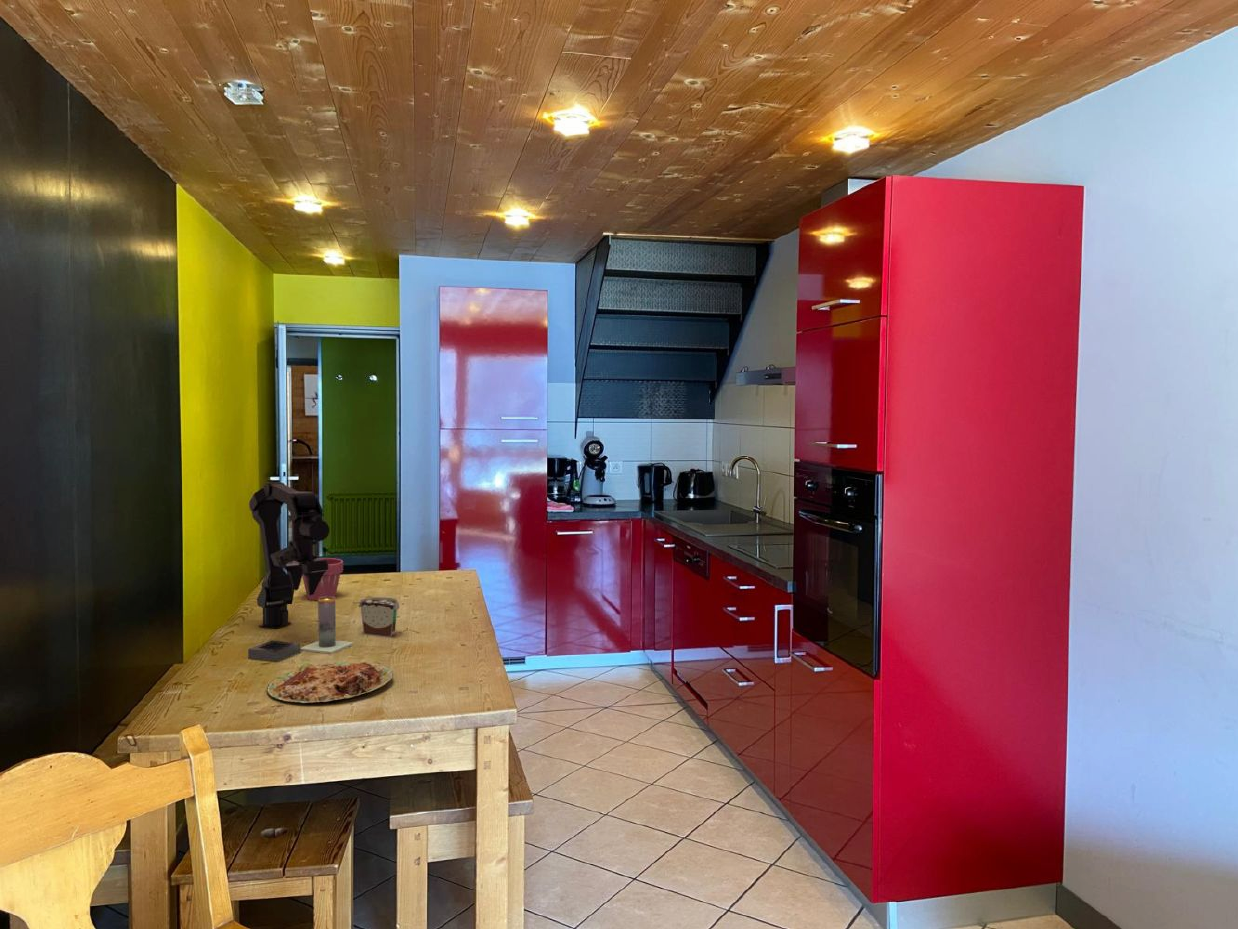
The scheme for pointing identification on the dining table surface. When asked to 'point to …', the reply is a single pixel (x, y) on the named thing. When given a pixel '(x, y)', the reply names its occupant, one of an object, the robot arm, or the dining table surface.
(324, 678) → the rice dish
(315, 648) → the rest pad
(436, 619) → the dining table surface
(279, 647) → the block
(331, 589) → the plant pot
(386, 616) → the food container
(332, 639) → the steel peg
